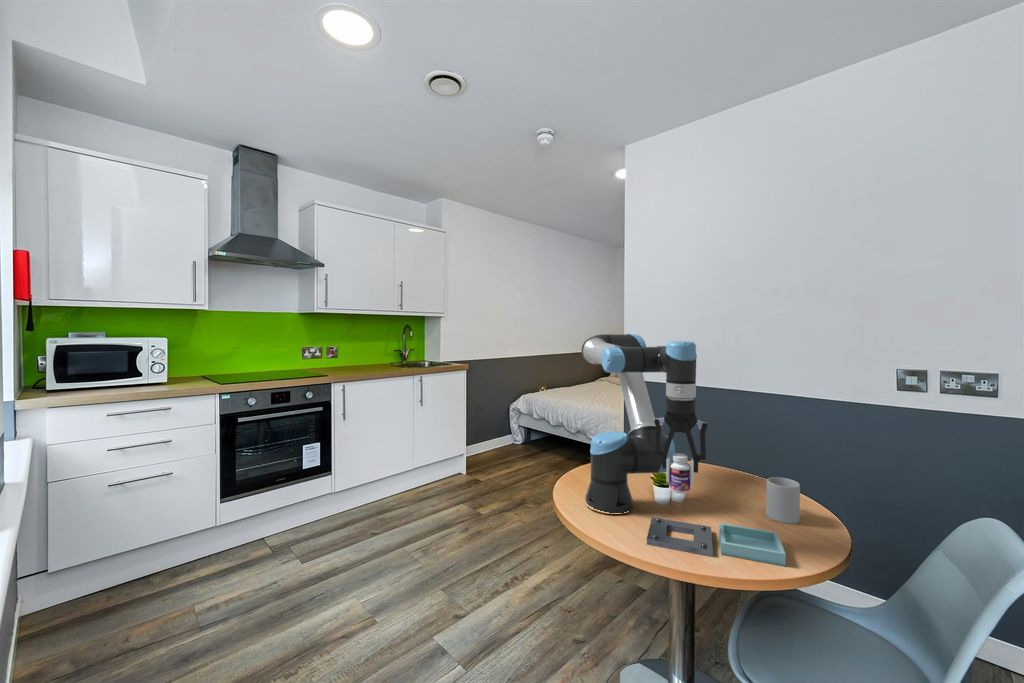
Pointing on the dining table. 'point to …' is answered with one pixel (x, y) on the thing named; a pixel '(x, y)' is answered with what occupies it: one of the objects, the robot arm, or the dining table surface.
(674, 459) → the pill bottle
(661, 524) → the plate
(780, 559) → the tray
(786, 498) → the mug
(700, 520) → the dining table surface
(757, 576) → the dining table surface
